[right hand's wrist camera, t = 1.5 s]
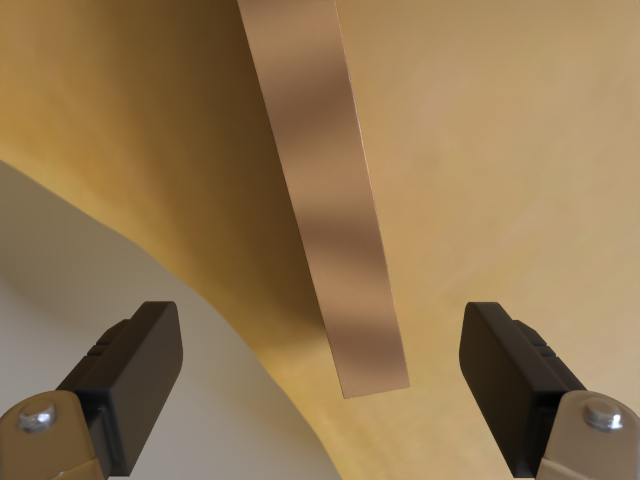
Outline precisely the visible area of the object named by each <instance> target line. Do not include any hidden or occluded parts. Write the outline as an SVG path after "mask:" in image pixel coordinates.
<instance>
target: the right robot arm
mask: <svg viewBox="0 0 640 480" xmlns="http://www.w3.org/2000/svg"><path fill="white" fill-rule="evenodd" d="M182 361H183V347H182V340H181V333H180V325H179V318H178V311H177V307H176V304H175V303H174V302H173V301H146V302H144V303H143V304H142V305H141V306H140V308H139V309H138V310H137V311H136V313H135V314H134V315H133V316H132V318H131V319H124V320H122V321H121V322H119V323H117V324H116V325H114V326H113V327H111V328H110V329H108V330H107V331H106V332H105V333H104V334H103V335H102V337H101V338H100V339H99V340H98V341H97V342H96V345H94V346H93V347H92V348H91V349H90V350H89V352H88V353H87V356H84V357H83V358H82V360H81V361H80V362H79V363H78V364H77V365H76V366H75V368H74V369H73V370H72V371H71V372H70V373H69V375H68V376H67V377H66V378H65V379H64V380H63V381H62V383H61V384H60V385H59V386H58V387H57V388H56V390H54V391H48V392H44V393H40V394H37V395H34V396H32V397H29V398H27V399H25V400H23V401H21V402H19V403H18V404H16V405H15V406H13V407H12V408H10V409H9V410H8V411H7V412H6V413H4V415H3V416H2V417H1V418H0V480H108V478H109V476H130V474H131V472H132V469H133V468H134V466H135V464H136V461H137V459H138V457H139V455H140V453H141V451H142V449H143V447H144V445H145V443H146V441H147V439H148V437H149V435H150V433H151V431H152V429H153V427H154V424H155V422H156V420H157V418H158V416H159V414H160V412H161V410H162V408H163V406H164V404H165V402H166V400H167V398H168V396H169V394H170V392H171V390H172V387H173V385H174V383H175V381H176V379H177V377H178V375H179V373H180V370H181V367H182ZM459 361H460V367H461V371H462V374H463V376H464V378H465V380H466V382H467V384H468V386H469V388H470V390H471V392H472V394H473V396H474V398H475V400H476V402H477V404H478V406H479V408H480V410H481V412H482V414H483V416H484V418H485V420H486V422H487V424H488V426H489V428H490V431H491V433H492V435H493V437H494V439H495V441H496V443H497V445H498V447H499V449H500V451H501V453H502V455H503V457H504V459H505V461H506V463H507V465H508V467H509V469H510V471H511V473H512V475H513V477H514V478H534V479H535V480H640V418H639V417H638V416H637V415H636V413H634V412H633V411H632V410H631V409H630V408H628V407H627V406H625V405H624V404H622V403H621V402H619V401H617V400H615V399H613V398H611V397H608V396H606V395H603V394H600V393H597V392H592V391H588V390H587V389H586V388H585V387H584V386H583V384H582V383H581V382H580V381H579V380H578V379H577V378H576V376H575V375H574V374H573V373H572V372H571V371H570V370H569V368H568V367H567V366H566V365H565V364H564V363H563V362H562V360H561V359H560V358H559V357H556V354H555V352H554V351H553V350H552V349H551V348H550V347H549V346H547V343H546V342H545V341H544V340H543V339H542V338H541V336H540V335H539V334H538V333H537V332H536V331H535V330H533V329H532V328H530V327H529V326H527V325H525V324H524V323H522V322H521V321H519V320H512V319H511V318H510V316H509V315H508V314H507V313H506V311H505V310H504V309H503V308H502V307H501V305H500V304H499V303H497V302H469V303H467V305H466V308H465V313H464V320H463V327H462V334H461V341H460V348H459Z"/></svg>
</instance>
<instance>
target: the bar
mask: <svg viewBox="0 0 640 480" xmlns="http://www.w3.org/2000/svg"><path fill="white" fill-rule="evenodd" d="M237 3H238V7H239V11H240V15H241V18H242V22H243V26H244V29H245V33H246V37H247V40H248V44H249V48H250V52H251V55H252V59H253V63H254V66H255V70H256V74H257V77H258V81H259V85H260V89H261V92H262V96H263V100H264V103H265V107H266V111H267V115H268V118H269V122H270V126H271V129H272V133H273V137H274V140H275V144H276V148H277V152H278V155H279V159H280V163H281V166H282V170H283V174H284V178H285V181H286V185H287V189H288V192H289V196H290V200H291V203H292V207H293V211H294V215H295V218H296V222H297V226H298V229H299V233H300V237H301V241H302V244H303V248H304V252H305V255H306V259H307V263H308V266H309V270H310V274H311V278H312V281H313V285H314V289H315V292H316V296H317V300H318V304H319V307H320V311H321V315H322V318H323V322H324V326H325V329H326V333H327V337H328V341H329V344H330V348H331V352H332V355H333V359H334V363H335V367H336V370H337V374H338V378H339V381H340V385H341V389H342V392H343V396H344V399H348V398H354V397H359V396H365V395H370V394H376V393H381V392H387V391H392V390H398V389H403V388H409V387H411V385H410V380H409V374H408V369H407V364H406V359H405V354H404V349H403V344H402V339H401V334H400V329H399V324H398V318H397V313H396V308H395V303H394V298H393V293H392V288H391V283H390V278H389V273H388V268H387V262H386V257H385V252H384V247H383V242H382V237H381V232H380V227H379V222H378V217H377V211H376V206H375V201H374V196H373V191H372V186H371V181H370V176H369V171H368V166H367V161H366V155H365V150H364V145H363V140H362V135H361V130H360V125H359V120H358V115H357V110H356V105H355V99H354V94H353V89H352V84H351V79H350V74H349V69H348V64H347V59H346V54H345V49H344V43H343V38H342V33H341V28H340V23H339V18H338V13H337V8H336V3H335V0H237Z"/></svg>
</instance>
